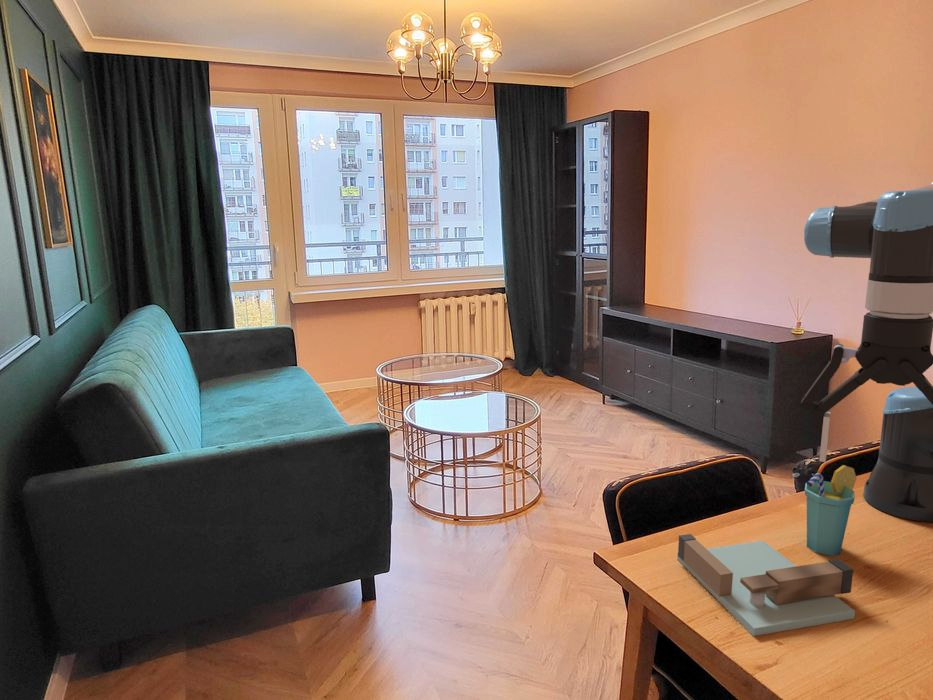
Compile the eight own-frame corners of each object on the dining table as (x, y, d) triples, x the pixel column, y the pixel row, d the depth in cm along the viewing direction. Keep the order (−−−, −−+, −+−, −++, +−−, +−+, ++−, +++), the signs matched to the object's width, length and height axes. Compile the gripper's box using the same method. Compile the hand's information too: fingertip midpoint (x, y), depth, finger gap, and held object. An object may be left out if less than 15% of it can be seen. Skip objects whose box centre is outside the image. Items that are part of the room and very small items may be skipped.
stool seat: (762, 547, 108) (764, 520, 107) (854, 618, 89) (858, 587, 88) (674, 559, 105) (676, 532, 104) (750, 636, 86) (753, 604, 85)
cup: (825, 573, 100) (835, 486, 97) (777, 553, 106) (784, 470, 103) (863, 544, 108) (873, 462, 105) (816, 527, 114) (824, 449, 111)
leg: (751, 608, 89) (753, 584, 89) (738, 596, 92) (740, 573, 91) (850, 592, 92) (853, 569, 92) (835, 581, 95) (837, 558, 94)
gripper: (1019, 314, 78) (992, 474, 82) (793, 304, 91) (781, 443, 95) (1032, 324, 71) (1003, 497, 76) (787, 312, 84) (775, 460, 89)
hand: (879, 467), depth 86 cm, fingers open, 13 cm apart
